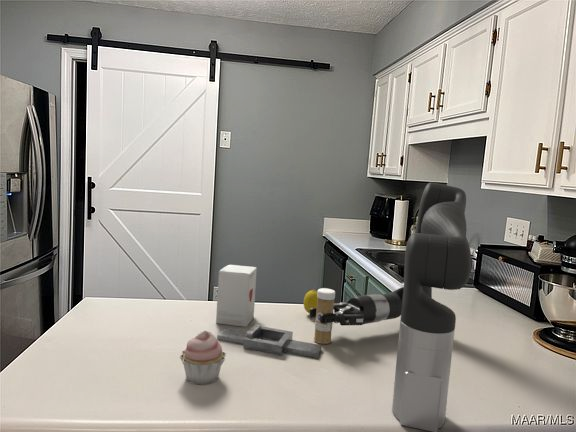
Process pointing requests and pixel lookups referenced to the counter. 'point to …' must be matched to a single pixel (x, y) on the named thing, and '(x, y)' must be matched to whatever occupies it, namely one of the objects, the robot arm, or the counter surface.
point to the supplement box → (236, 295)
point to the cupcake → (203, 358)
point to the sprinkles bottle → (324, 307)
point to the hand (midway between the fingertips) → (315, 315)
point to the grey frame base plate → (276, 348)
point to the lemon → (310, 300)
